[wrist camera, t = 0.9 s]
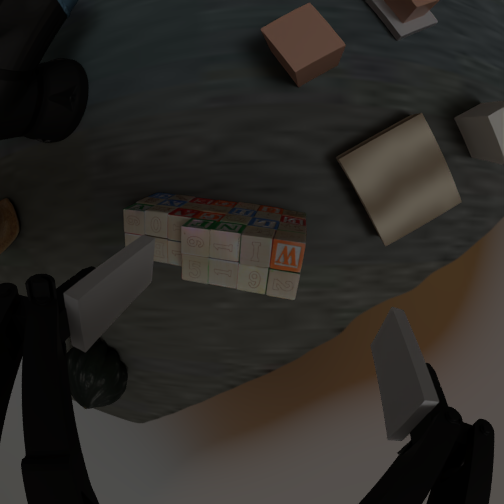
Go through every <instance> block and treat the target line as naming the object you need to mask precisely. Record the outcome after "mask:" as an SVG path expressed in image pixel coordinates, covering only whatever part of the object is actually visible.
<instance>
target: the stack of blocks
mask: <svg viewBox="0 0 504 504" xmlns="http://www.w3.org/2000/svg"><path fill="white" fill-rule="evenodd" d="M124 232H125V246H128V245H129V244H130V243H132V242H133V241H135V240H136V239H138V238H139V237H141V236H142V235H146V236H150V237H153V238H155V248H154V259H153V261H157V262H163V263H169V264H173V265H178V266H182V279H183V280H188V281H194V282H199V283H205V284H213V285H218V286H224V287H229V288H236V289H238V290H243V291H248V292H254V293H260V294H266V295H268V296H274V297H280V298H285V299H291V300H295V297H296V292H297V287H298V282H299V278H300V271H301V267H302V262H303V256H304V251H305V244H306V213H302V212H296V211H290V210H284V209H282V208H276V207H269V206H263V205H257V204H250V203H243V202H238V203H236V202H229V201H222V200H212V199H204V198H196V197H195V196H187V195H178V194H176V195H175V194H167V193H155V194H153V195H151V196H149V197H146V198H144V199H141V200H139V201H137V202H136V203H135V204H133V205H131V206H128V207H126V208H124Z"/></svg>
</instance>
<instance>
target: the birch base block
mask: <svg viewBox="0 0 504 504" xmlns="http://www.w3.org/2000/svg"><path fill="white" fill-rule="evenodd" d="M336 159H337V161H338V162H339V164H340V166H341V167H342V169H343V171H344V172H345V174H346V176H347V177H348V179H349V181H350V183H351V184H352V186H353V188H354V190H355V192H356V193H357V195H358V197H359V199H360V201H361V203H362V204H363V206H364V208H365V210H366V212H367V214H368V216H369V218H370V220H371V222H372V223H373V225H374V227H375V229H376V231H377V233H378V235H379V237H380V239H381V240H382V242H383V243H384V245H385V246H387V245H389V244H391V243H392V242H394V241H396V240H398V239H400V238H401V237H403V236H405V235H407V234H408V233H410V232H412V231H414V230H415V229H417V228H419V227H421V226H422V225H424V224H426V223H427V222H429V221H431V220H432V219H434V218H436V217H437V216H439V215H441V214H443V213H444V212H446V211H447V210H449V209H451V208H452V207H454V206H456V205H457V204H459V203H461V202H462V201H461V198H460V196H459V193H458V190H457V188H456V185H455V183H454V180H453V178H452V175H451V173H450V170H449V168H448V166H447V163H446V161H445V159H444V157H443V154H442V152H441V150H440V148H439V146H438V144H437V142H436V140H435V137H434V135H433V133H432V131H431V130H430V128H429V126H428V124H427V122H426V120H425V118H424V116H423V114H422V113H420V114H414V115H410V116H408V117H407V118H405V119H403V120H401V121H399V122H397V123H395V124H394V125H392V126H390V127H388V128H386V129H385V130H383V131H381V132H379V133H377V134H375V135H374V136H372V137H370V138H368V139H367V140H365V141H363V142H361V143H359V144H358V145H356V146H354V147H352V148H351V149H349V150H347V151H345V152H344V153H342V154H340V155H338V156H337V157H336Z"/></svg>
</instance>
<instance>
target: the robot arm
mask: <svg viewBox="0 0 504 504" xmlns="http://www.w3.org/2000/svg"><path fill="white" fill-rule="evenodd" d="M77 2H78V0H0V140H3V139H9V138H14V137H21V136H24V137H27V138H30V139H35V140H38V141H40V142H45V143H50V142H57V141H61V140H63V139H65V138H66V137H68V136H69V135H70V134H71V133H72V132H73V131H74V130H75V128H76V127H77V125H78V124H79V122H80V120H81V118H82V116H83V114H84V111H85V107H86V104H87V98H88V80H87V75H86V72H85V70H84V68H83V67H82V66H81V64H80V63H78V62H77V61H75V60H71V59H65V58H58V59H54V60H51V61H49V62H45V63H41V64H39V63H40V61H41V59H42V57H43V55H44V54H45V52H46V50H47V48H48V47H49V45H50V43H51V42H52V40H53V39H54V37H55V35H56V34H57V32H58V31H59V29H60V27H61V26H62V24H63V23H64V21H65V20H66V19H67V18H68V17H69V16H70V12H71V11H72V9H73V8H74V6H75V5H76V3H77ZM154 248H155V238H153V237H150V236H146V235H142V236H141V237H139V238H138V239H136V240H135V241H133V242H132V243H130V244H129V245H128V246H126V247H125V248H123V249H122V250H120V251H119V252H118V253H116V254H115V255H113V256H112V257H111V258H109V259H108V260H107V261H105V262H104V263H102V264H101V265H100V266H98V267H97V268H95V267H92V266H91V267H88V268H85V269H82V270H81V271H80V272H78V273H77V274H76V275H75V276H73V277H71V278H70V280H67V281H66V282H65V283H63V284H62V285H61V286H59V287H58V288H57V289H56V286H55V280H54V278H53V277H52V276H50V275H48V274H36V275H34V276H31V277H30V278H29V279H27V281H26V283H25V284H26V290H27V295H28V297H26V296H22V295H19V294H18V289H17V286H16V285H14V284H12V283H2V284H0V441H1V435H2V429H3V425H4V420H5V416H6V411H7V407H8V403H9V400H10V396H11V392H12V388H13V385H14V381H15V378H16V375H17V371H18V368H19V365H20V362H21V359H22V356H23V362H22V414H23V415H22V416H23V431H24V442H25V451H26V456H25V458H23V459H22V462H21V467H22V468H21V469H22V475H23V482H24V487H25V492H26V497H27V501H28V504H99V502H98V500H97V497H96V495H95V493H94V491H93V489H92V486H91V483H90V480H89V477H88V473H87V470H86V466H85V462H84V458H83V454H82V451H81V446H80V442H79V437H78V432H77V428H76V422H75V417H74V411H73V405H72V398H71V391H70V383H69V374H68V364H67V352H66V343H65V340H66V339H67V338H68V337H69V336H70V338H71V343H72V346H74V347H76V348H78V349H80V350H81V351H83V352H85V353H86V352H87V351H88V349H89V348H90V347H91V346H92V345H93V344H94V343H95V342H96V341H97V339H98V338H99V337H100V336H101V335H102V334H103V333H104V332H105V331H106V330H107V328H108V327H109V326H110V325H111V324H112V323H113V322H114V321H115V320H116V319H117V318H118V317H119V315H120V314H121V313H122V312H123V311H124V310H125V309H126V308H127V307H128V306H129V305H130V304H131V303H132V302H133V301H134V300H135V299H136V297H137V296H138V295H139V294H140V293H141V292H142V291H143V290H144V289H145V288H146V287H147V286H148V285H149V284H150V283H151V282H152V270H153V259H154ZM371 349H372V354H373V359H374V363H375V368H376V373H377V378H378V384H379V389H380V394H381V400H382V406H383V411H384V418H385V424H386V430H387V438H388V440H396V441H402V440H403V439H404V438H405V437H406V436H407V435H408V434H410V436H411V441H410V442H409V443H407V445H405V446H404V447H403V448H402V449H401V450H400V451H399V452H398V454H399V456H398V457H397V458H396V460H395V461H394V462H393V464H392V465H391V466H390V467H389V469H388V470H387V471H386V473H385V474H384V475H383V476H382V477H381V479H380V480H379V481H378V482H377V483H376V485H375V486H374V487H373V488H372V489H371V491H370V492H369V493H368V494H367V495H366V496H365V497H364V498H363V499H362V500H361V502H360V503H359V504H422V503H423V501H424V500H425V498H426V497H427V495H428V493H429V491H430V490H431V491H430V495H429V497H428V501H427V504H489V498H490V491H491V483H492V472H493V459H494V430H493V427H492V425H491V424H490V423H489V422H488V421H486V420H484V419H478V420H477V421H476V422H475V423H474V424H473V425H470V424H467V423H464V422H463V421H462V417H461V415H460V414H459V412H457V411H456V409H454V408H452V407H448V405H447V402H446V399H445V396H444V394H443V391H442V388H441V387H440V383H439V380H438V377H437V375H436V372H435V371H434V369H433V368H432V367H431V365H430V364H429V363H425V361H424V358H423V355H422V353H421V351H420V348H419V346H418V343H417V341H416V338H415V336H414V333H413V331H412V329H411V327H410V324H409V322H408V320H407V317H406V315H405V313H404V311H403V310H401V309H398V308H394V307H391V309H390V311H389V313H388V315H387V317H386V319H385V321H384V322H383V324H382V326H381V328H380V330H379V331H378V333H377V335H376V337H375V339H374V341H373V342H372V344H371Z"/></svg>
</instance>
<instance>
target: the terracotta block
mask: <svg viewBox="0 0 504 504" xmlns="http://www.w3.org/2000/svg"><path fill="white" fill-rule="evenodd" d="M261 31H262V33H263V35H264V38H265V40H266V42H267V44H268V46H269V48H270V50H271V52H272V53H273V55H274V56H275V57H276V58H277V60H278V61H279V62H280V63H281V65H282V66H283V67H284V69H285V70H286V71H287V73H288V74H289V75H290V77H291V78H292V79H293V81H294V82H295V83H296V85H297V86H298V87H300V86H302V85H303V84H305V83H307V82H308V81H310V80H312V79H314V78H316V77H317V76H319V75H321V74H323V73H325V72H326V71H328V70H330V69H332V68H334V67H336V66H338V63H339V61H340V58H341V56H342V53H343V51H344V48H345V46H346V45H345V43H344V42H343V41H342V40H341V38H340V37H339V36H338V35H337V33H336V32H335V31H334V30H333V28H332V27H331V26H330V25H329V24H328V23H327V21H326V20H325V19H324V18H323V17H322V16H321V14H320V13H319V12H318V11H317V10H316V9H315V8H314V7H313V6H312V5H311V3H308V4H306V5H304V6H302V7H300V8H298V9H296V10H294V11H292V12H290V13H288V14H286V15H284V16H282V17H280V18H279V19H277V20H275V21H273V22H272V23H270V24H268V25H266V26H265V27H263V28H261Z"/></svg>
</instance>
